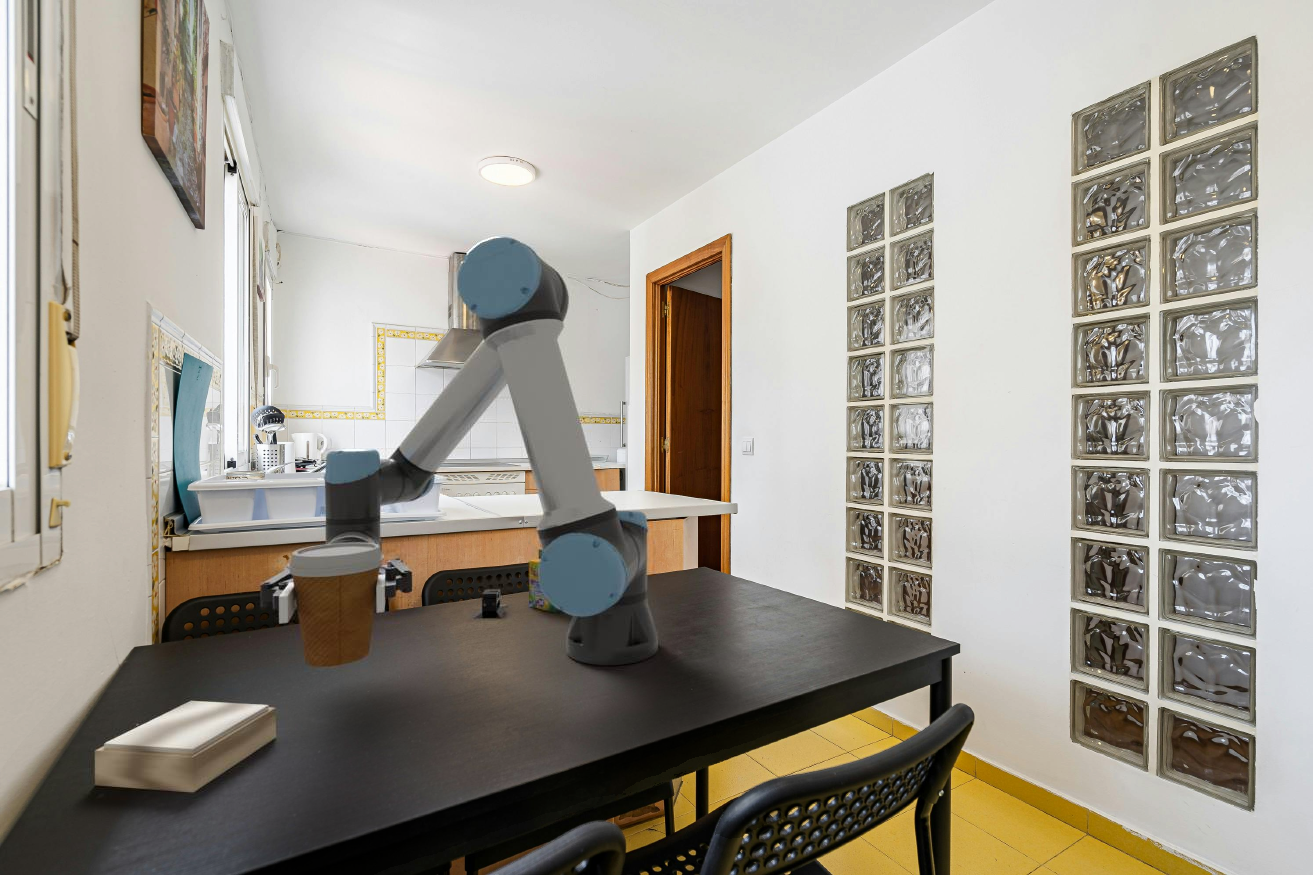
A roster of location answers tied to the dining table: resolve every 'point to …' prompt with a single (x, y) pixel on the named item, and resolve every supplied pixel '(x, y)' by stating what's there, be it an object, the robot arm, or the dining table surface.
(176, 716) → the plinth
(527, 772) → the dining table surface
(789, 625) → the dining table surface
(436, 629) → the dining table surface
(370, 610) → the disposable coffee cup
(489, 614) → the black block on base
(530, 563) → the crayon box
